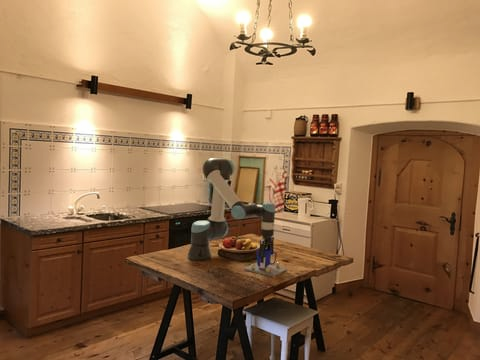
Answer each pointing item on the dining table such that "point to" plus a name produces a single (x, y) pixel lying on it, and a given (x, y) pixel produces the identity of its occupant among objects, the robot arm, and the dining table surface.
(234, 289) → the dining table surface
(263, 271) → the tray
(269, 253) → the mug
